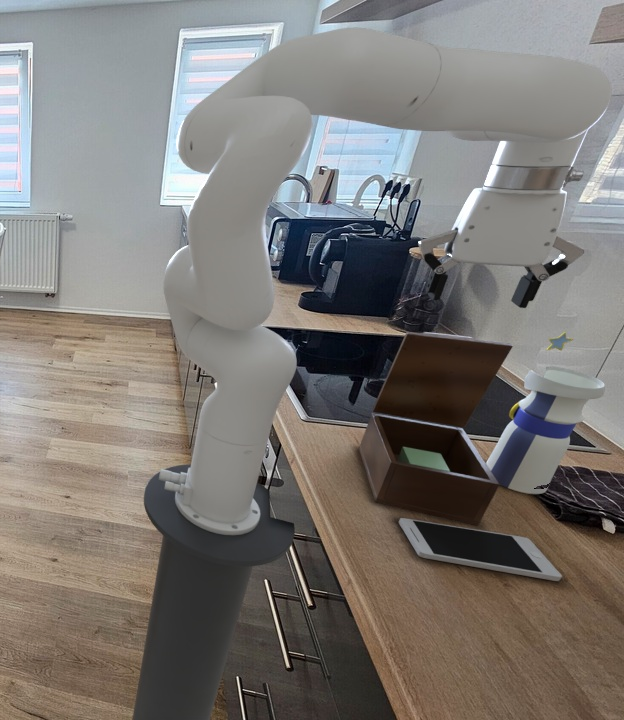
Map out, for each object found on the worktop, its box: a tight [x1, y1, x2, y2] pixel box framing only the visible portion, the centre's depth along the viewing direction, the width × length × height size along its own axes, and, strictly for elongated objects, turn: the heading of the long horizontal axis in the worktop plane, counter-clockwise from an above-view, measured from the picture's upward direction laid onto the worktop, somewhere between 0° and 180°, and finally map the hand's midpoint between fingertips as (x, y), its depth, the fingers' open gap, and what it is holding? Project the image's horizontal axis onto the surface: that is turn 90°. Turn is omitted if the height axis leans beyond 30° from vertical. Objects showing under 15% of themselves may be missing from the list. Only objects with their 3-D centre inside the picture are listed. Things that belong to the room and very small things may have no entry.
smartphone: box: [398, 517, 563, 582], centre depth 70 cm, size 7×15×1 cm, turn 73°
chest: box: [358, 412, 501, 526], centre depth 81 cm, size 16×13×8 cm
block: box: [397, 447, 450, 472], centre depth 81 cm, size 5×5×5 cm
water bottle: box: [485, 331, 606, 495], centre depth 78 cm, size 8×9×25 cm
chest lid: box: [372, 331, 514, 428], centre depth 82 cm, size 16×13×5 cm
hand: (474, 301), depth 74 cm, fingers open, 9 cm apart
